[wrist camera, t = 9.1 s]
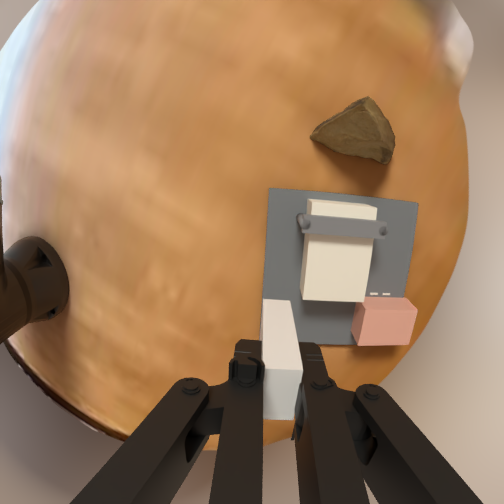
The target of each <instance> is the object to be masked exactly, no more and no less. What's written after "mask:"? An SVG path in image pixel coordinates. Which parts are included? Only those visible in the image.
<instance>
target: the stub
mask: <svg viewBox="0 0 504 504" xmlns="http://www.w3.org/2000/svg"><path fill="white" fill-rule="evenodd" d="M417 312H418V309H417V308H416V307H415V306H414V305H413V304H412V303H411V302H410V301H409V300H408V299H407V298H396V297H365V298H364V302H356V305H355V311H354V316H353V321H352V326H351V332H352V334H353V336H354V339H355V341H356V343H357V345H358V346H378V345H409V341H410V338H411V334H412V331H413V327H414V323H415V320H416V316H417Z"/></svg>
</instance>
